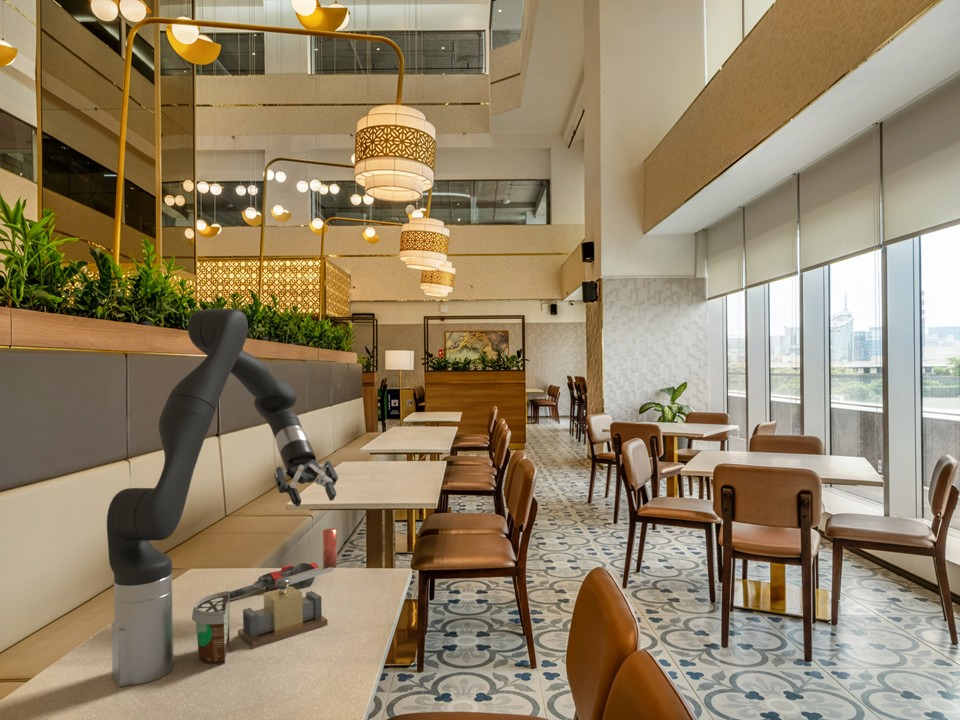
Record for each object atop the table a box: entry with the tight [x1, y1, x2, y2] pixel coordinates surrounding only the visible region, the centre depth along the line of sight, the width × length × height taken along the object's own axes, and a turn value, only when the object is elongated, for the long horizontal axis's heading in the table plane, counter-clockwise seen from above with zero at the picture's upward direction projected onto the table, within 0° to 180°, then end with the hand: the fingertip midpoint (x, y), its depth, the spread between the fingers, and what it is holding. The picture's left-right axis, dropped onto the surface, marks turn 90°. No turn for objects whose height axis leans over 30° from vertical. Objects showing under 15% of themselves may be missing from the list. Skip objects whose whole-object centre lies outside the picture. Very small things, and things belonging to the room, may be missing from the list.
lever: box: [276, 527, 338, 588], centre depth 132 cm, size 15×3×9 cm, turn 140°
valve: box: [229, 561, 320, 600], centre depth 154 cm, size 6×26×15 cm
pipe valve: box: [237, 585, 329, 649], centre depth 127 cm, size 16×8×9 cm, turn 131°
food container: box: [191, 590, 231, 665], centre depth 117 cm, size 12×6×10 cm, turn 18°
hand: (316, 501), depth 142 cm, fingers open, 8 cm apart
